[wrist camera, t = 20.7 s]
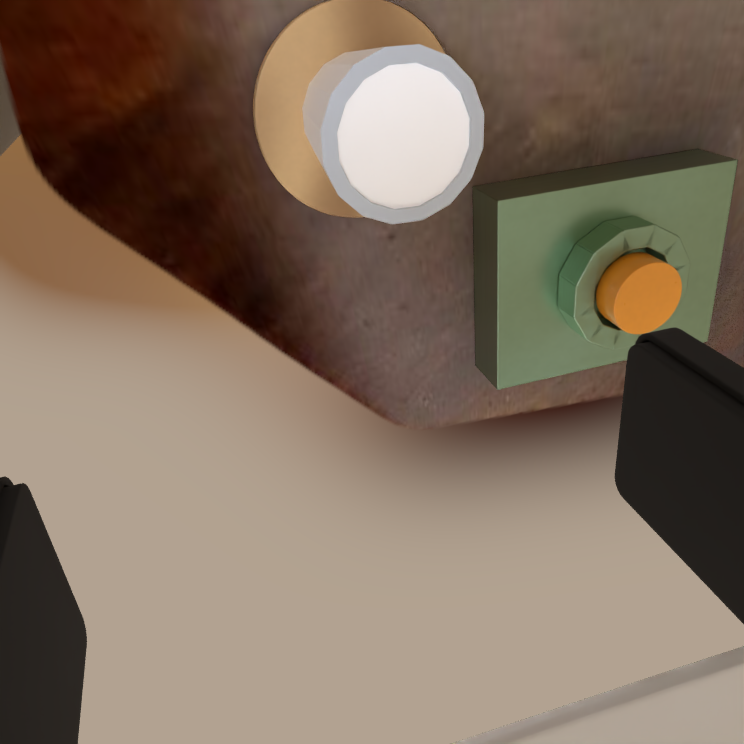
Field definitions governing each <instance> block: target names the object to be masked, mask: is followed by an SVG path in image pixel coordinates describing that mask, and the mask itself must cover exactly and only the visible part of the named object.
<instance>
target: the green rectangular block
mask: <svg viewBox="0 0 744 744" xmlns="http://www.w3.org/2000/svg"><path fill="white" fill-rule="evenodd" d="M737 162H738V160H737V159H733V158H730V157H726V156H722V155H719V154H715V153H711V152H708V151H704V150H700V149H695V150H689V151H683V152H677V153H671V154H665V155H659V156H653V157H647V158H641V159H635V160H629V161H623V162H617V163H611V164H605V165H599V166H593V167H587V168H581V169H575V170H569V171H563V172H557V173H551V174H545V175H539V176H533V177H527V178H521V179H515V180H509V181H503V182H497V183H491V184H485V185H479V186H473V243H474V308H475V365H476V366H477V368H478V369H479V370H480V371H481V372H482V373H483V374H484V375H485V376H486V378H487V379H488V380H489V381H490V382H491V383H492V384H493V385H494V386H495V388H496V389H497V390H499V389H503V388H507V387H512V386H516V385H520V384H525V383H529V382H533V381H538V380H542V379H546V378H551V377H555V376H559V375H564V374H568V373H572V372H577V371H581V370H585V369H590V368H594V367H598V366H603V365H607V364H611V363H616V362H620V361H624V360H627V356H628V351H629V349H630V347H632V346H633V345H635V343H636V340H637V339H638V337H639V336H641V335H642V334H630V333H627V332H625V331H623V330H622V329H620V328H619V327H618V326H616V325H615V324H613V323H612V322H610V321H609V320H607V319H606V318H605V317H603V315H602V314H601V313H600V312H599V309H598V307H597V304H596V291H597V287H598V284H599V281H600V279H601V277H602V275H603V274H604V272H605V271H606V269H607V268H608V267H609V266H610V265H611V264H612V263H613V262H614V261H616V260H617V259H619V258H620V257H622V256H624V255H626V254H629V253H634V252H644V253H647V254H650V255H652V256H654V257H656V258H658V259H660V260H662V261H664V262H666V263H668V264H670V265H671V266H673V267H674V268H675V269H676V270H677V271H678V273H679V275H680V278H681V282H682V293H681V298H680V301H679V303H678V306H677V307H676V309H675V311H674V312H673V314H672V315H671V316H670V318H669V319H668V320H667V321H666V322H665V323H664V324H662V325H661V326H660V327H658V328H657V329H655V330H653V331H651V332H654V331H659V330H663V329H668V328H674V327H676V328H679V329H681V330H683V331H685V332H686V333H688V334H689V335H691V336H693V337H694V338H696V339H697V340H699V341H701V342H707V340H708V334H709V328H710V322H711V316H712V311H713V305H714V299H715V293H716V287H717V281H718V275H719V269H720V263H721V257H722V251H723V245H724V239H725V233H726V227H727V221H728V216H729V210H730V204H731V198H732V192H733V186H734V180H735V174H736V168H737ZM648 333H650V332H648Z"/></svg>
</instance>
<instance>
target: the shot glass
mask: <svg viewBox="0 0 744 744" xmlns="http://www.w3.org/2000/svg"><path fill="white" fill-rule="evenodd" d="M302 111H303V122H304V132H305V134H306V136H307V138H308V140H309V142H310V144H311V146H312V148H313V150H314V152H315V154H316V156H317V158H318V160H319V161H320V163H321V165H322V167H323V169H324V170H325V172H326V174H327V176H328V178H329V179H330V181H331V183H332V185H333V187H334V188H335V190H336V192H337V194H338V196H339V197H341V198H342V199H343V200H344V201H345V202H346V203H348V204H349V205H350V206H351V207H352V208H354V209H355V210H356V211H357V212H358V213H360V214H361V215H362V216H364V217H368V218H371V219H375V220H378V221H382V222H385V223H389V224H399V223H406V222H413V221H420V220H424V219H425V218H427V217H429V216H431V215H432V214H434V213H436V212H438V211H439V210H441V209H443V208H445V207H446V206H448V205H450V204H451V203H452V202H453V200H454V199H455V198H456V197H457V196H458V194H459V193H460V192H461V191H462V190H463V188H464V187H465V186H466V185H467V184H468V183H469V181H470V180H471V179H472V176H473V173H474V171H475V168H476V166H477V163H478V160H479V158H480V155H481V152H482V150H483V143H484V111H483V108H482V105H481V102H480V100H479V97H478V94H477V91H476V88H475V85H474V83H473V81H472V79H471V78H470V77H469V76H468V75H467V74H466V73H465V72H464V71H463V70H462V69H461V68H460V66H459V65H458V64H457V63H456V62H455V61H454V60H453V59H452V58H451V57H450V56H448V55H445V54H443V53H440V52H438V51H435V50H433V49H430V48H428V47H425V46H423V45H420V44H415V45H402V46H390V47H381V48H373V49H366V50H359V51H352V52H345V53H343V54H341V55H339V56H338V57H336V58H334V59H332V60H331V61H329V62H327V63H325V64H324V65H323V66H322V67H321V69H320V70H319V71H318V73H317V74H316V75H315V77H314V78H313V79H312V81H311V82H310V83H309V86H308V89H307V93H306V96H305V100H304V103H303V107H302Z"/></svg>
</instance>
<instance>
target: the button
mask: <svg viewBox="0 0 744 744" xmlns="http://www.w3.org/2000/svg"><path fill="white" fill-rule="evenodd" d="M681 293H682V282H681V278H680V275H679V273H678V271H677V270H676V269H675V268H674V267H673V266H671V265H670V264H668V263H666V262H664V261H662V260H660V259H658V258H656V257H654V256H652V255H650V254H647V253H644V252H634V253H629V254H626V255H624V256H622V257H620V258H619V259H617V260H616V261H614V262H613V263H612V264H611V265H610V266H609V267H608V268H607V269H606V271H605V272H604V274H603V275H602V277H601V279H600V281H599V284H598V287H597V291H596V304H597V307H598V309H599V312H600V313H601V314H602V315H603V317H605V318H606V319H607V320H609V321H610V322H612V323H613V324H615V325H616V326H618V327H619V328H620V329H622V330H623V331H625V332H627V333H630V334H645V333H648V332H651V331H653V330H655V329H657V328H658V327H660V326H661V325H662V324H664V323H665V322H666V321H667V320H668V319H669V318H670V316H671V315H672V314H673V312H674V311H675V309H676V307H677V306H678V303H679V301H680V298H681Z"/></svg>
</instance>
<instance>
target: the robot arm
mask: <svg viewBox="0 0 744 744" xmlns="http://www.w3.org/2000/svg"><path fill="white" fill-rule="evenodd" d="M615 482H616V486H617V489H618V491H619V493H620V495H621V496H622V497H623V498H624V499H625V500H626V501H627V503H628V504H629V505H630V506H631V507H632V508H633V509H634V510H635V511H636V512H637V513H638V514H639V515H640V516H641V517H642V518H643V519H644V520H645V521H646V522H647V523H648V524H649V526H650V527H651V528H652V529H653V530H654V531H655V532H656V533H657V534H658V535H659V536H660V537H661V538H662V539H663V540H664V541H665V542H666V543H667V544H668V545H669V546H670V547H671V549H672V550H673V551H674V552H675V553H676V554H677V555H678V556H679V557H680V558H681V559H682V560H683V561H684V562H685V563H686V564H687V565H688V566H689V567H690V568H691V569H692V571H693V572H694V573H695V574H696V575H697V576H698V577H699V578H700V579H701V580H702V581H703V582H704V583H705V584H706V585H707V586H708V587H709V588H710V589H711V590H712V591H713V592H714V594H715V595H716V596H717V597H719V599H720V600H721V601H722V602H723V603H724V604H725V605H726V606H727V607H728V608H729V609H730V610H731V611H732V612H733V613H734V614H735V615H736V617H737V618H738V619H739V620H740V621H741V622H742V623H743V624H744V368H743V367H741V366H740V365H738V364H736V363H735V362H733V361H732V360H730V359H728V358H727V357H725V356H723V355H722V354H720V353H719V352H717V351H715V350H714V349H712V348H710V347H709V346H707V345H706V344H704V343H702V342H701V341H699V340H697V339H696V338H694V337H693V336H691V335H689V334H688V333H686V332H685V331H683V330H681V329H679V328H676V327H674V328H668V329H663V330H659V331H654V332H650V333H645V334H642V335H641V336H639V337H638V339H637V340H636V343H635V345H633V346H632V347H630V349H629V351H628V356H627V365H626V375H625V384H624V393H623V403H622V412H621V423H620V432H619V440H618V450H617V459H616V469H615ZM86 647H87V636H86V628H85V624H84V620H83V617H82V614H81V612H80V610H79V607H78V605H77V602H76V600H75V598H74V595H73V593H72V591H71V588H70V586H69V583H68V581H67V578H66V576H65V574H64V571H63V569H62V566H61V564H60V562H59V559H58V557H57V554H56V552H55V550H54V547H53V545H52V542H51V540H50V538H49V535H48V533H47V530H46V528H45V525H44V523H43V521H42V518H41V516H40V513H39V511H38V509H37V506H36V504H35V501H34V499H33V497H32V494H31V492H30V490H29V488H28V486H27V485H26V484H24V483H22V484H17V485H13V483H12V482H11V480H10V479H9V478H7V477H1V478H0V744H78V733H79V723H80V712H81V701H82V689H83V679H84V668H85V657H86ZM452 744H744V646H743V647H740V648H737V649H734V650H731V651H728V652H725V653H722V654H719V655H716V656H713V657H709V658H706V659H704V660H700V661H697V662H694V663H692V664H688V665H685V666H682V667H679V668H676V669H673V670H670V671H667V672H664V673H661V674H658V675H655V676H652V677H649V678H646V679H643V680H640V681H637V682H634V683H631V684H628V685H625V686H622V687H619V688H616V689H613V690H610V691H607V692H604V693H601V694H598V695H595V696H592V697H589V698H586V699H584V700H580V701H577V702H574V703H571V704H568V705H565V706H562V707H559V708H556V709H553V710H550V711H547V712H544V713H542V714H538V715H536V716H532V717H529V718H526V719H524V720H520V721H518V722H515V723H512V724H509V725H506V726H503V727H500V728H497V729H494V730H491V731H488V732H485V733H482V734H479V735H476V736H473V737H470V738H467V739H464V740H461V741H458V742H455V743H452Z"/></svg>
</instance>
